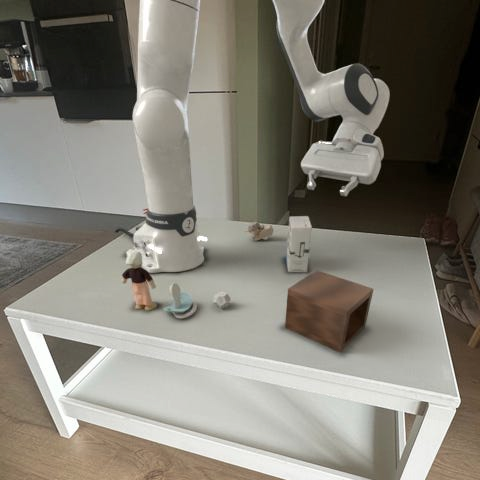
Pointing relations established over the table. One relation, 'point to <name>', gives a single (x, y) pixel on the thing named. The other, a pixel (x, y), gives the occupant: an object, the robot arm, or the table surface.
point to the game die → (222, 300)
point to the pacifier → (180, 302)
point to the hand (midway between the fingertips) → (325, 191)
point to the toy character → (260, 230)
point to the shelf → (328, 309)
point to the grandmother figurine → (139, 281)
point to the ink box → (298, 243)
